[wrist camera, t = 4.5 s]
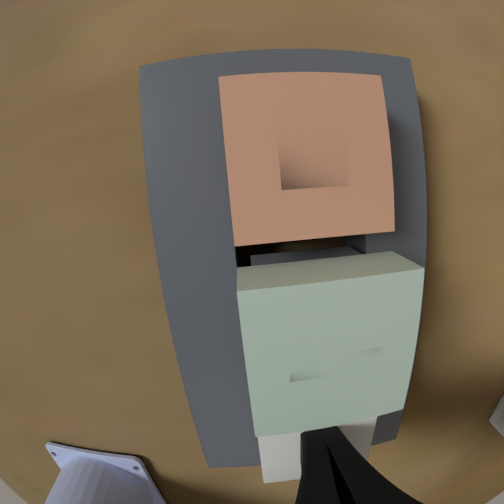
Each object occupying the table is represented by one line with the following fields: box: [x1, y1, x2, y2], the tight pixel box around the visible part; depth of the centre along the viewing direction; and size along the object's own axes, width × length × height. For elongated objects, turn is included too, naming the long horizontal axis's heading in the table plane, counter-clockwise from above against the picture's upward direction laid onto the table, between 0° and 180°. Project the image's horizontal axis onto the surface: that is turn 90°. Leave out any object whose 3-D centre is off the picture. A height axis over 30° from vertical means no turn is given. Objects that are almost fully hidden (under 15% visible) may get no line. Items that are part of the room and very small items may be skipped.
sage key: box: [237, 246, 425, 437], centre depth 9 cm, size 4×4×5 cm
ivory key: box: [258, 416, 377, 483], centre depth 12 cm, size 4×4×5 cm
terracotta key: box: [218, 72, 395, 246], centre depth 10 cm, size 4×4×5 cm
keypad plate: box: [140, 49, 427, 468], centre depth 12 cm, size 18×10×2 cm, turn 5°
